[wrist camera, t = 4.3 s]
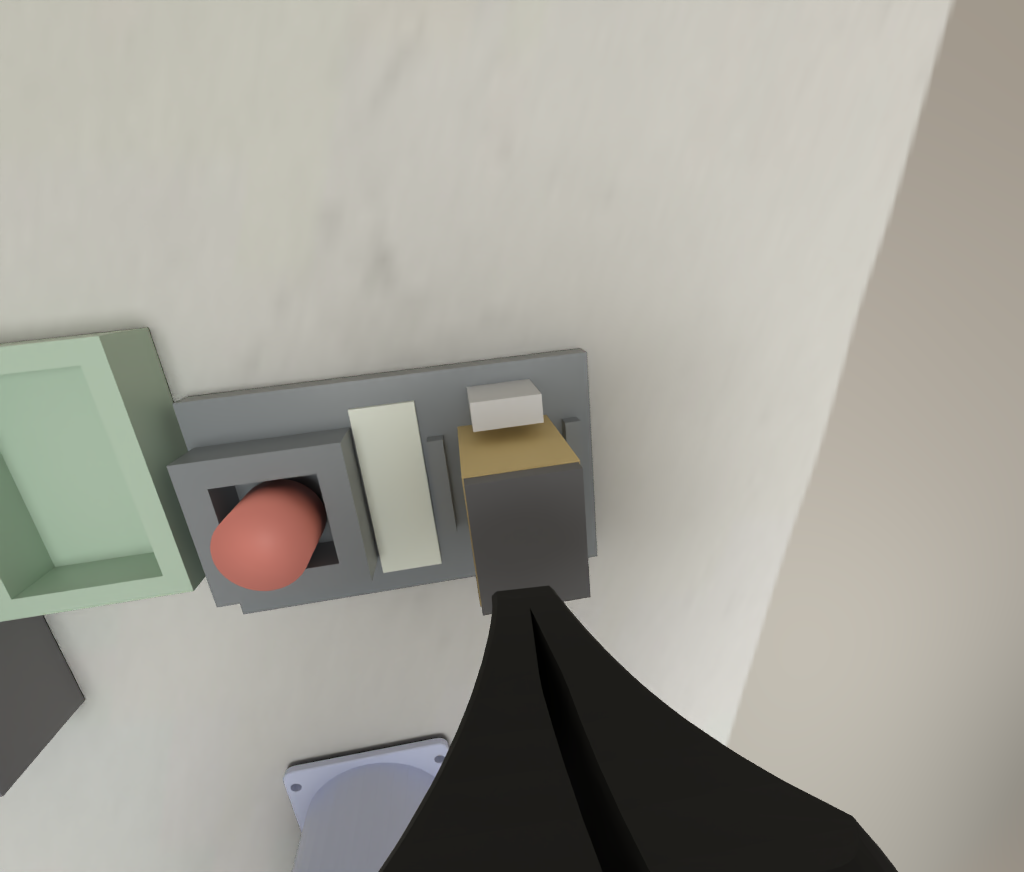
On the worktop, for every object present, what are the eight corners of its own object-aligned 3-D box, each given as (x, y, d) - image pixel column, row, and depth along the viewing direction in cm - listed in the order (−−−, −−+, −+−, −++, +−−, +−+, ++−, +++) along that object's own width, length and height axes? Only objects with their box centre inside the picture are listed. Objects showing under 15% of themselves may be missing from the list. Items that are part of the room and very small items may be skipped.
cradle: (579, 348, 19) (607, 362, 16) (590, 544, 22) (616, 590, 19) (186, 396, 18) (128, 423, 15) (252, 599, 21) (216, 659, 18)
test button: (334, 545, 19) (318, 582, 16) (252, 558, 18) (225, 597, 16) (316, 473, 18) (296, 502, 15) (229, 485, 17) (197, 517, 15)
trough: (224, 552, 20) (193, 590, 18) (53, 578, 19) (-4, 622, 17) (147, 327, 17) (98, 336, 15) (-57, 350, 17) (-144, 362, 14)
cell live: (546, 414, 19) (584, 466, 14) (554, 516, 20) (591, 597, 15) (457, 426, 19) (462, 484, 14) (472, 529, 20) (481, 617, 15)
